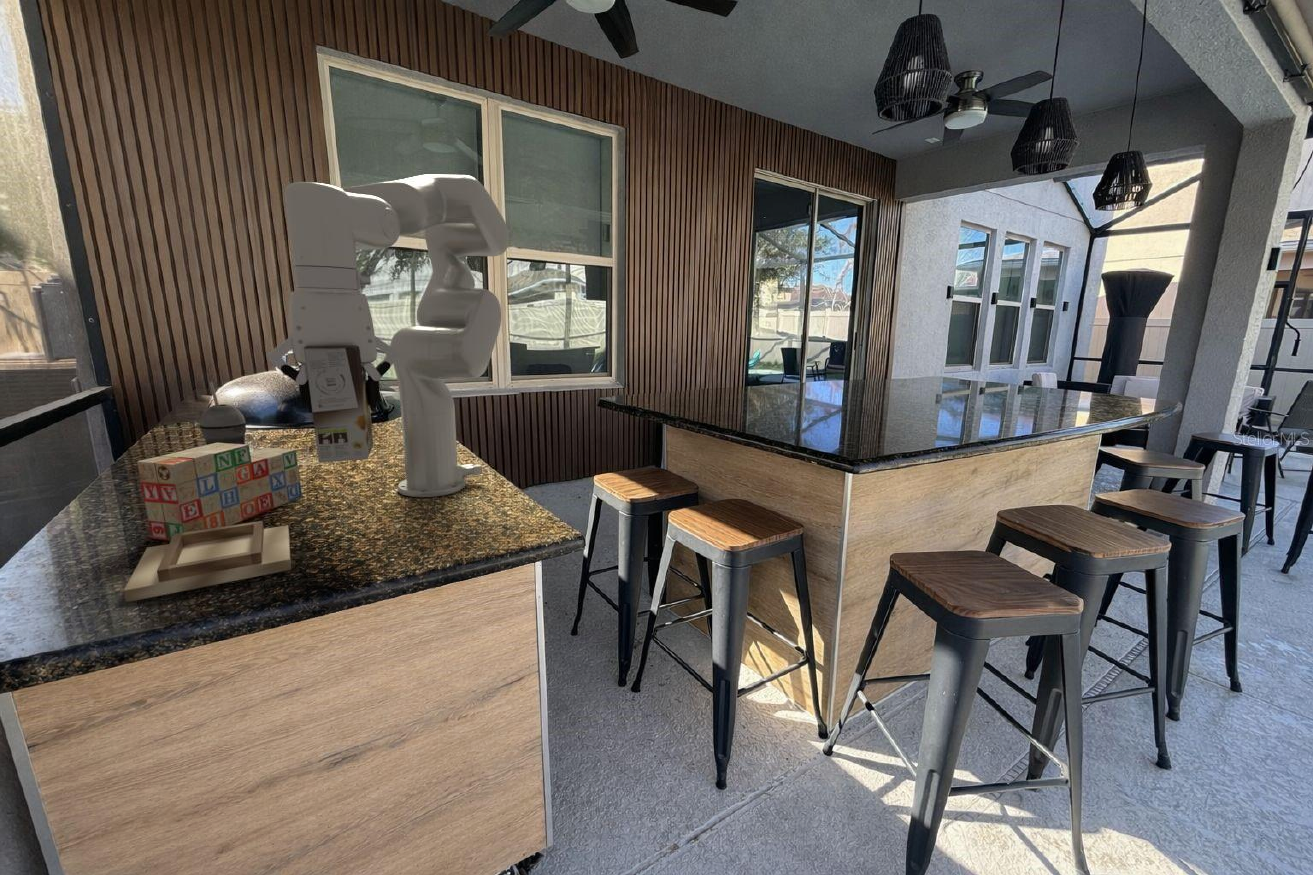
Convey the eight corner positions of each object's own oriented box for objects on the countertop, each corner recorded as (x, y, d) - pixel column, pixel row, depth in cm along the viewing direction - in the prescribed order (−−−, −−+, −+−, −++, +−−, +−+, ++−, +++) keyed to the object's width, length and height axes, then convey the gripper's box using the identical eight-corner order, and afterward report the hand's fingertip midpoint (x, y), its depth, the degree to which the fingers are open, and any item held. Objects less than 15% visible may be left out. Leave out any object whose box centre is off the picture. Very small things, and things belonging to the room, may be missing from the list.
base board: (289, 534, 82) (286, 515, 82) (291, 569, 71) (288, 548, 71) (149, 557, 73) (145, 537, 73) (126, 602, 62) (121, 578, 62)
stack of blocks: (273, 495, 100) (265, 431, 97) (303, 497, 99) (295, 433, 96) (150, 539, 79) (135, 460, 77) (185, 543, 78) (171, 463, 76)
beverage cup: (235, 487, 103) (220, 384, 99) (198, 486, 103) (181, 383, 99) (263, 476, 110) (250, 380, 106) (228, 475, 110) (213, 379, 106)
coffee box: (369, 459, 76) (357, 346, 72) (317, 464, 74) (302, 347, 70) (374, 444, 84) (363, 342, 81) (328, 447, 82) (314, 342, 78)
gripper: (392, 285, 81) (402, 400, 85) (250, 279, 71) (269, 409, 76) (402, 284, 75) (412, 408, 79) (248, 278, 65) (269, 419, 70)
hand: (342, 407), depth 77 cm, fingers closed on coffee box, 7 cm apart
